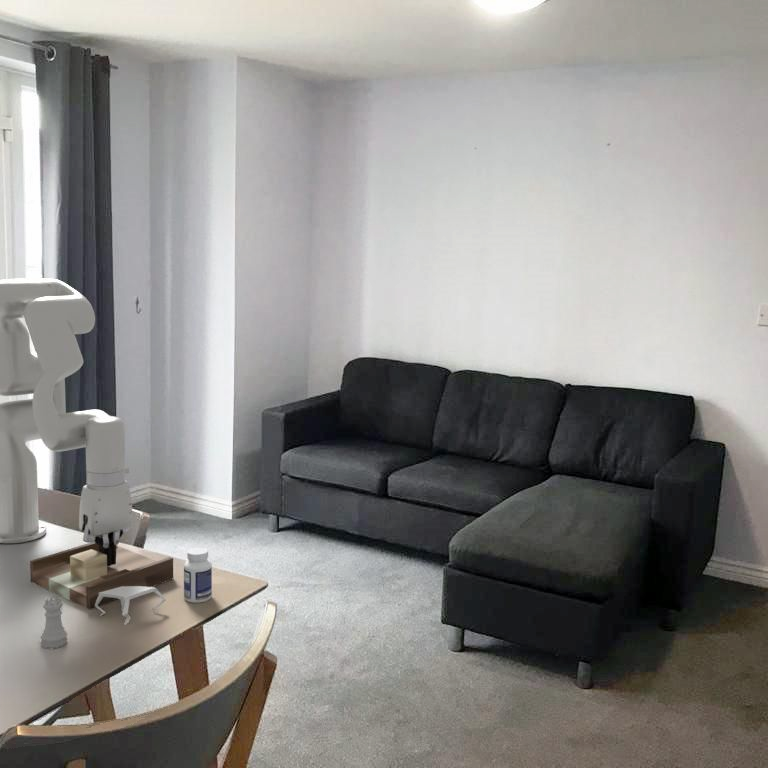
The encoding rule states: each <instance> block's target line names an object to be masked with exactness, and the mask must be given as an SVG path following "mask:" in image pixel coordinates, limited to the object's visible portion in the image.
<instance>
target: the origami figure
mask: <svg viewBox="0 0 768 768" xmlns="http://www.w3.org/2000/svg"><path fill="white" fill-rule="evenodd" d="M150 593H154V594H155V595H156V596H158V597H159V598H160V599H161V601H160V602H158V603H157V604H156V605H155V606H153V607H152V610H153V613H154V614H158V611H157V608H158V607H159V606H161V605H163V604H164V603H165V602H166V601H167V599H166V598H165V596H164V595H163V594H162V593H161V592H160V591H159V590H158V587H155V586H152V587H144V586H121V587H118V588H114V589H111V590H107V591H104V592H99V596H98V598H97V600H96V603H95V607H96V608H97V609H98V610H99V611H100V612H101V613H100V616H101V617H102V615H103V616H104V615H105V614H106V611H105V610H103V609H102V608H101V606H98V604H99V603H100V601H101V600H102V598H103V597H104V596H105V597H112V598H118V599H117V600H120V604H121V609H120V611H122V616H123V617H126V619H125V620H124V623H123V625H127V623H128V624H129V622H130V620H131V616H130V614H129V608H130V607H129V606H130V600H132V599H135V598H138V597H141V596H144V595H147V594H150Z"/></svg>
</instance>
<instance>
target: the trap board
mask: <svg viewBox="0 0 768 768" xmlns="http://www.w3.org/2000/svg"><path fill="white" fill-rule="evenodd" d="M91 549H92V550H95V551H97V552H99V546H98V545H96V543H95V542H94V543H85V544H81V545H78V546H75V547H71V548H69V549H65V550H62V551H58V552H55V553H51V554H48V555H45V556H42V557H38V558H35V559H32V560H30V561H29V568H30V582H31V583H32V584H34V585H36V586H39V587H41V588H43V589H45V590H48V591H50V592H51V593H53V594H55V595H57V596H60V597H62V598H64V599H67V600H69V601H70V602H73V603H74V604H77V605H78V606H81V607H83V608H85V609H88V610H94V609H95V608H97V607H95V603H96V600H97V598H98V596H99V592H104V591H107V590H111V589H114V588H118V587H121V586H144V587H151V586H152V587H155V586H158V585H160V584H163V583H165V581H166V582H168V580H169V581H170V579H171V580H173V579H174V558H173V557H171V556H170V557H166V558H164V559H163V558H162V559H161V560H155V559H153V558H150V557H148V556H146V555H142V554H139V553H138V552H134V551H132V550H130V549H127V548H125V547H121V546H118V545H116V564H114V565H111V566H107V574H105V575H103V576H100V577H97V578H94V579H91V580H88V581H84V580H81V579H79V578H77V577H74V576H72V575H71V572H70V556H72V555H75V554H78V553H81V552H84V551H87V550H91ZM172 578H173V579H172ZM162 582H163V583H162ZM157 584H158V585H157ZM154 585H155V586H154ZM117 600H119V599H118V598H112V597H105V596H104V597H103V598H102V600H101V601H100V603H99V604H98V606H99V607H101V606H103V605H106V604H109V603H112V602H115V601H117Z"/></svg>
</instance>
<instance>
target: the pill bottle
mask: <svg viewBox="0 0 768 768" xmlns="http://www.w3.org/2000/svg"><path fill="white" fill-rule="evenodd" d="M212 568H213V567H212V562H211V560H210V559H209V550H208V549H207V548H205V547H194V548H190V549H188V550H187V560H186V561H185V562H184V564H183V597H184V600H185V601H186V602H189V603H193V604H194V603H195V604H196V603H197V604H198V603H205V602H208V601H209V600H210V599H211V598H212V595H213V593H212V591H213V590H212V589H213V588H212V587H213V585H212V582H213V581H212V578H213V575H212V572H213V571H212V570H213V569H212Z"/></svg>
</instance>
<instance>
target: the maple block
mask: <svg viewBox="0 0 768 768" xmlns="http://www.w3.org/2000/svg"><path fill="white" fill-rule="evenodd" d="M70 572H71V575H72V576H74V577H77V578H79V579H81V580H84V581H88V580H91V579H94V578H97V577H100V576H103V575H105V574H107V555H105V554H103V553H100V552H97V551H95V550H92V549H91V550H87V551H84V552H81V553H78V554H75V555H72V556H70Z"/></svg>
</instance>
